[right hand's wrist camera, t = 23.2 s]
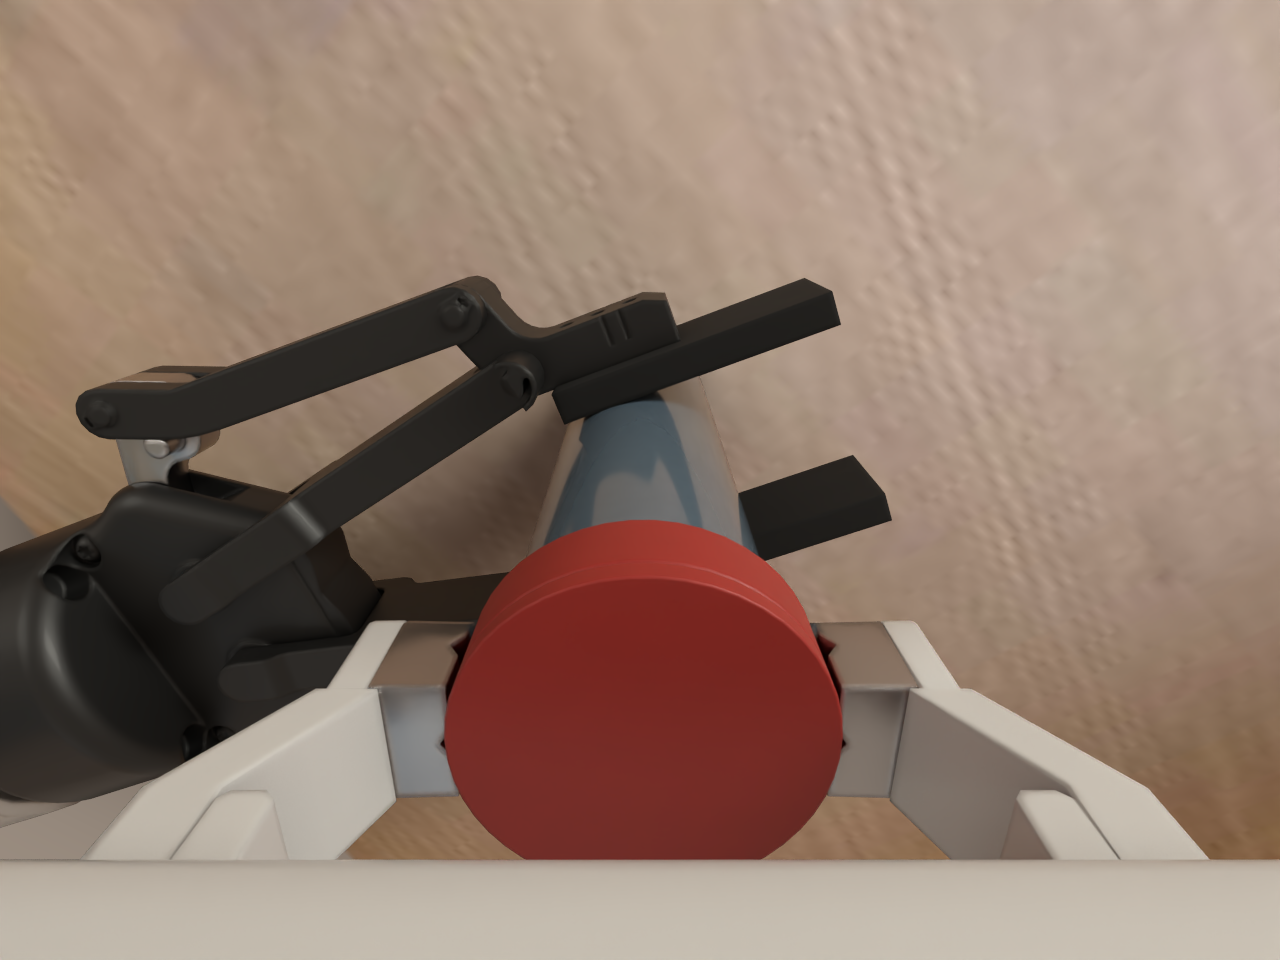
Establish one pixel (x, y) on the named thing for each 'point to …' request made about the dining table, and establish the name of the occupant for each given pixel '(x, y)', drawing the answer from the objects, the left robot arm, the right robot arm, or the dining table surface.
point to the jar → (644, 469)
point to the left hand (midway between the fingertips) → (845, 397)
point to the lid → (643, 701)
